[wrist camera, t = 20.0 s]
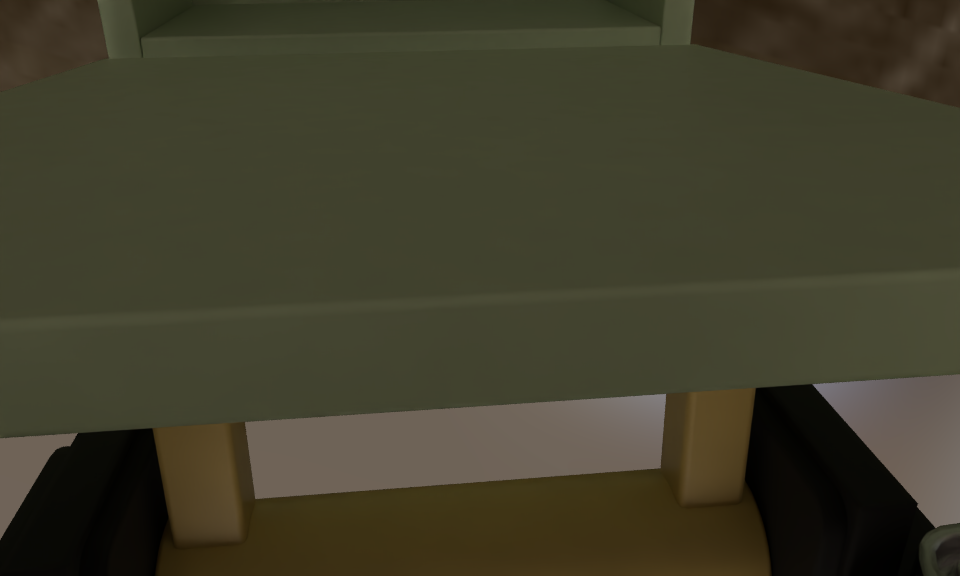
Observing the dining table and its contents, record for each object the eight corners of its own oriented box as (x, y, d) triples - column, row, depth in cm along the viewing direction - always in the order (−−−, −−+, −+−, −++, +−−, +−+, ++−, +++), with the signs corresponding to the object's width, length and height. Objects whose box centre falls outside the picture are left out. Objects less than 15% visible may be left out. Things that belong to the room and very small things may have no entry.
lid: (-881, 369, 4) (-470, 966, 6) (1523, 240, 6) (1281, 756, 8) (102, 58, 20) (136, 257, 21) (696, 44, 21) (681, 231, 23)
